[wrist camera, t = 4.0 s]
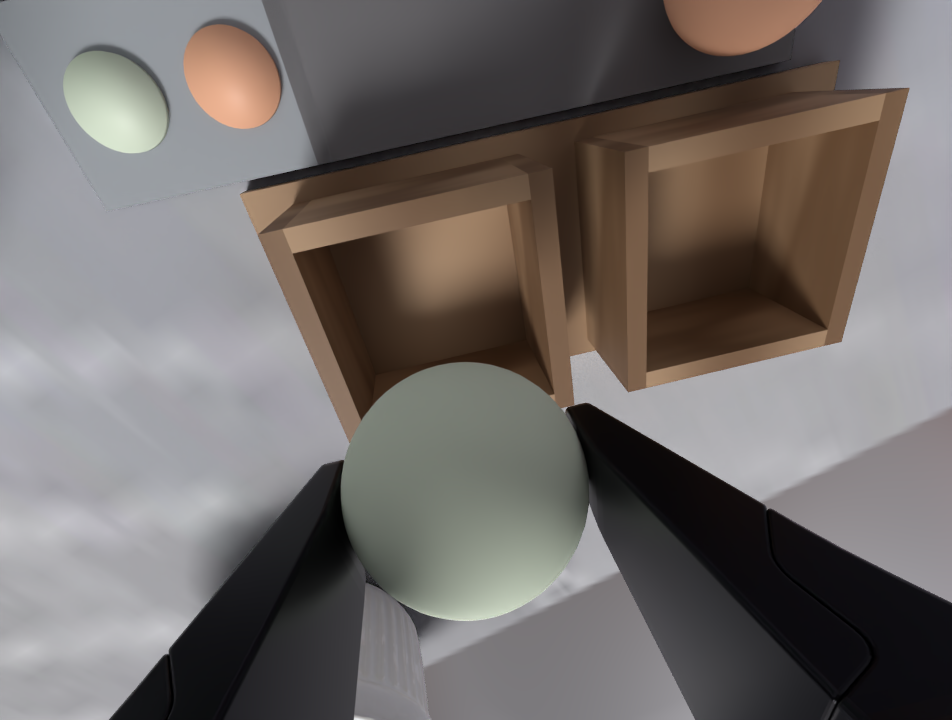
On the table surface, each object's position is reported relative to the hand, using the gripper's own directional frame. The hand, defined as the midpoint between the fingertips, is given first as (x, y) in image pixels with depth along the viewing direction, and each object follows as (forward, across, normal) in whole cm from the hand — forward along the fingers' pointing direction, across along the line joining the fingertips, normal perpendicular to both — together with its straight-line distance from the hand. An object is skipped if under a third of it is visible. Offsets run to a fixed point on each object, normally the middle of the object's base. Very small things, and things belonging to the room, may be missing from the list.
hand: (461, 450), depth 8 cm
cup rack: (+9, -4, 0) cm, 10 cm away
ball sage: (+1, 0, 0) cm, 1 cm away
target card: (+9, +6, -7) cm, 13 cm away
